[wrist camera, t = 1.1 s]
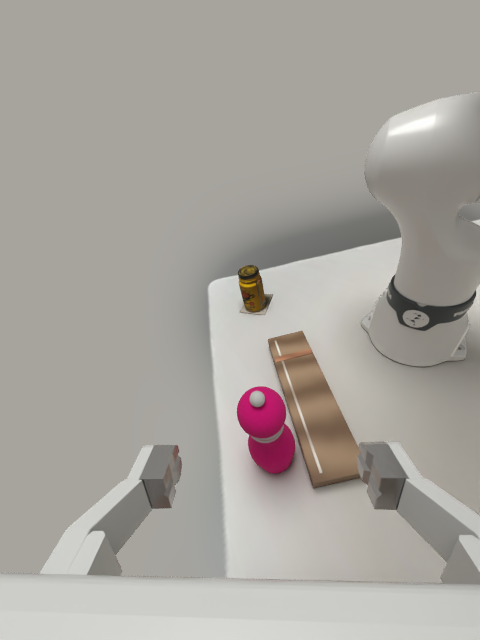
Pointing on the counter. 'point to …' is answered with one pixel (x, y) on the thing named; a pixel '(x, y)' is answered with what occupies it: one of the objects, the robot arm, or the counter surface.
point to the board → (314, 412)
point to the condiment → (253, 291)
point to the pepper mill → (266, 429)
